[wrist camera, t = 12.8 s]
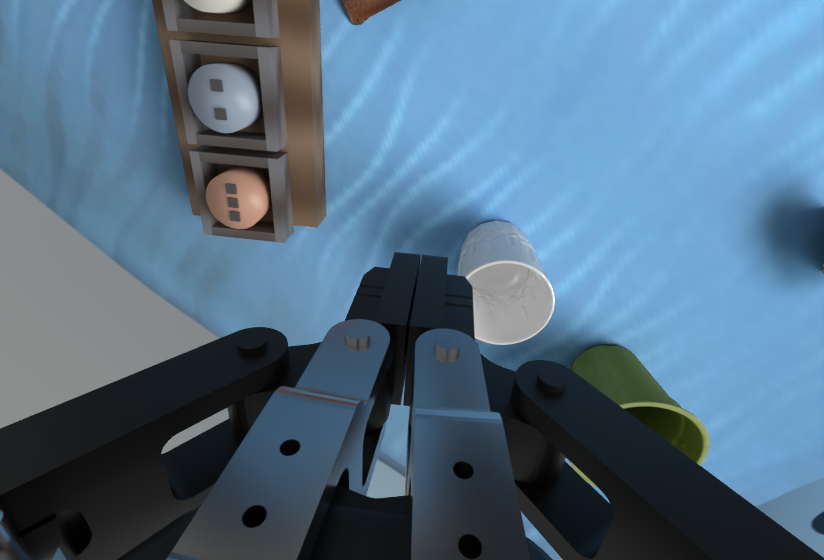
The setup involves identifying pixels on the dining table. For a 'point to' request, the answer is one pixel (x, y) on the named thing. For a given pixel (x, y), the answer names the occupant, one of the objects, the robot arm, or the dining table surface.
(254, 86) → the button two
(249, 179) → the button three
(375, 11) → the sunglasses case
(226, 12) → the button one
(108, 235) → the dining table surface
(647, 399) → the plant pot
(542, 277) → the white cup
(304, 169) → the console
